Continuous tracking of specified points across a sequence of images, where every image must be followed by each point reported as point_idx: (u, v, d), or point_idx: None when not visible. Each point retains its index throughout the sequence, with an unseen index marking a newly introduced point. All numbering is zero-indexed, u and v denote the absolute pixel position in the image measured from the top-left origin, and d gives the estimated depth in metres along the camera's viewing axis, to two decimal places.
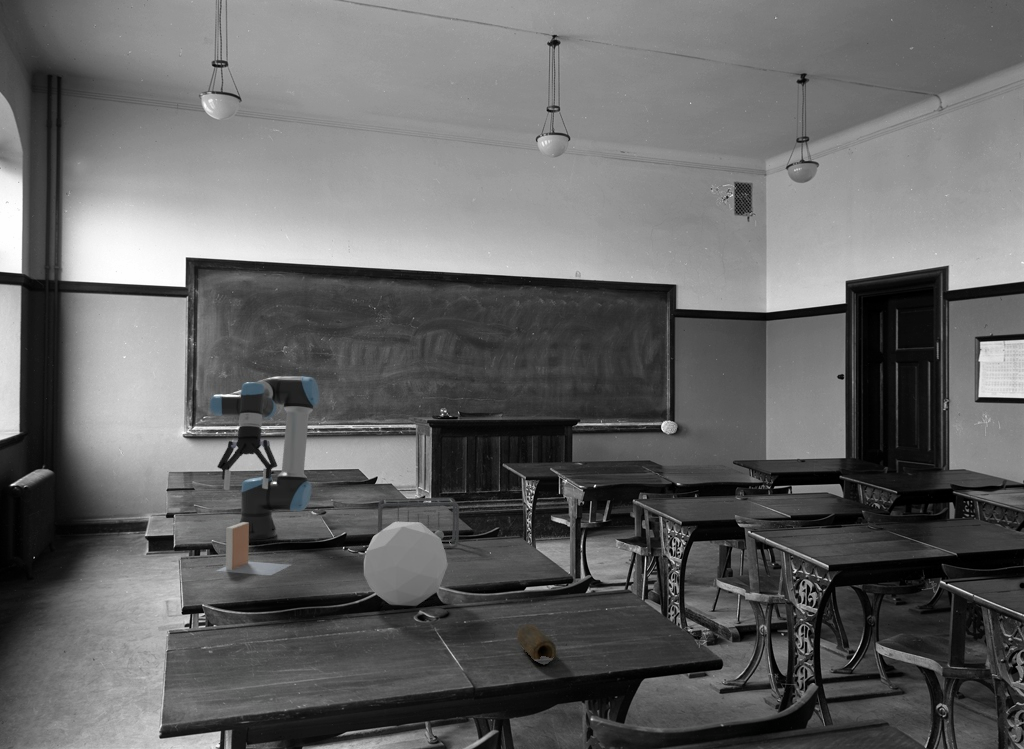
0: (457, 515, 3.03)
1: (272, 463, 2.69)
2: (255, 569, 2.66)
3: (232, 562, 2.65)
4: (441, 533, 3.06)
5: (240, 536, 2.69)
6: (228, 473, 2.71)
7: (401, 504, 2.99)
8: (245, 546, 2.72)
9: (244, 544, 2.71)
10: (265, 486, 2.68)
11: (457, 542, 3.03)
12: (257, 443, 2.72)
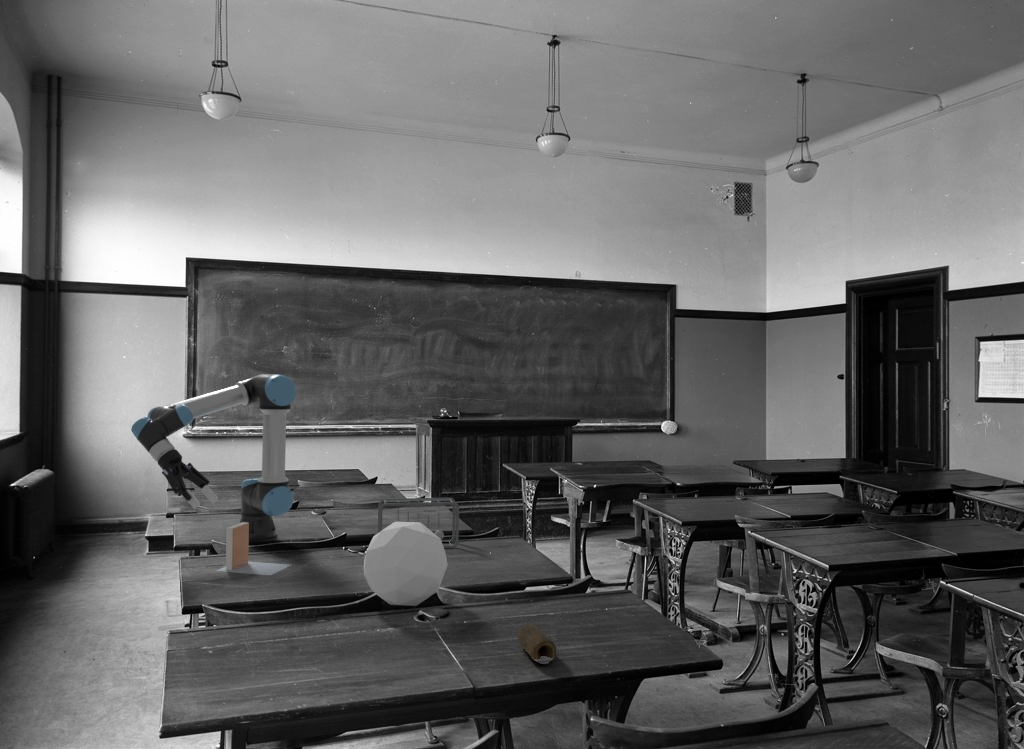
0: (457, 515, 3.03)
1: None
2: (255, 569, 2.66)
3: (232, 562, 2.65)
4: (441, 533, 3.06)
5: (240, 536, 2.69)
6: (204, 490, 2.77)
7: (401, 504, 2.99)
8: (245, 546, 2.72)
9: (244, 544, 2.71)
10: (194, 507, 2.67)
11: (457, 542, 3.03)
12: None
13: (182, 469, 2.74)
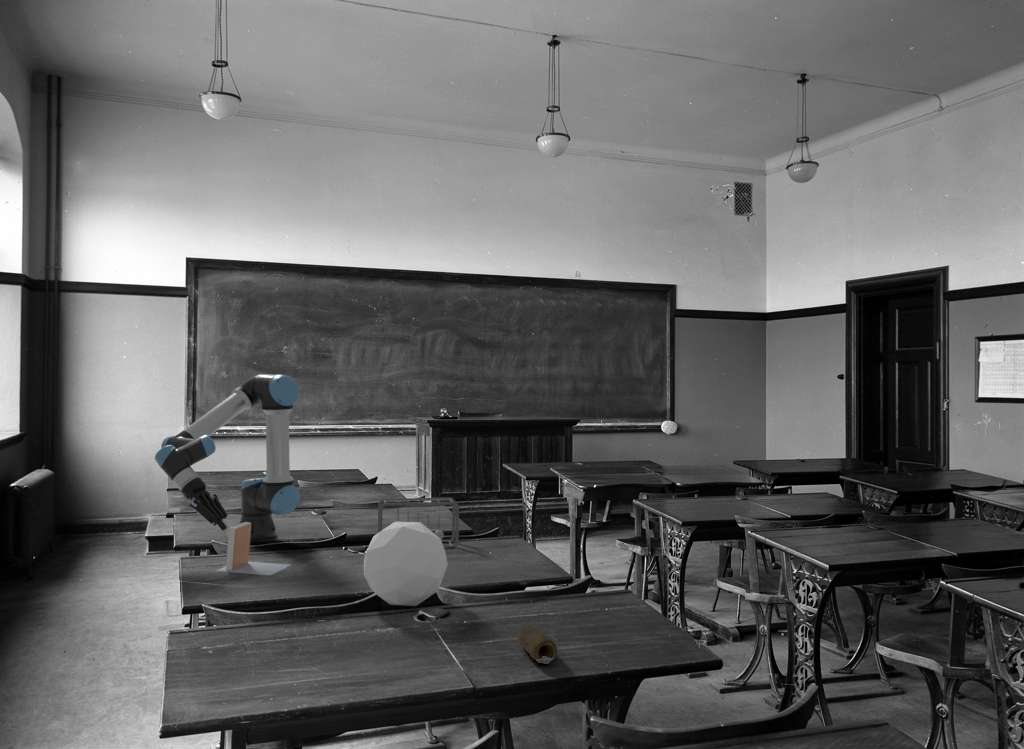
0: (457, 515, 3.04)
1: None
2: (255, 569, 2.66)
3: (232, 562, 2.65)
4: (441, 533, 3.06)
5: (242, 536, 2.68)
6: None
7: (401, 504, 2.99)
8: (246, 546, 2.72)
9: (245, 544, 2.71)
10: None
11: (457, 542, 3.04)
12: None
13: (206, 498, 2.72)
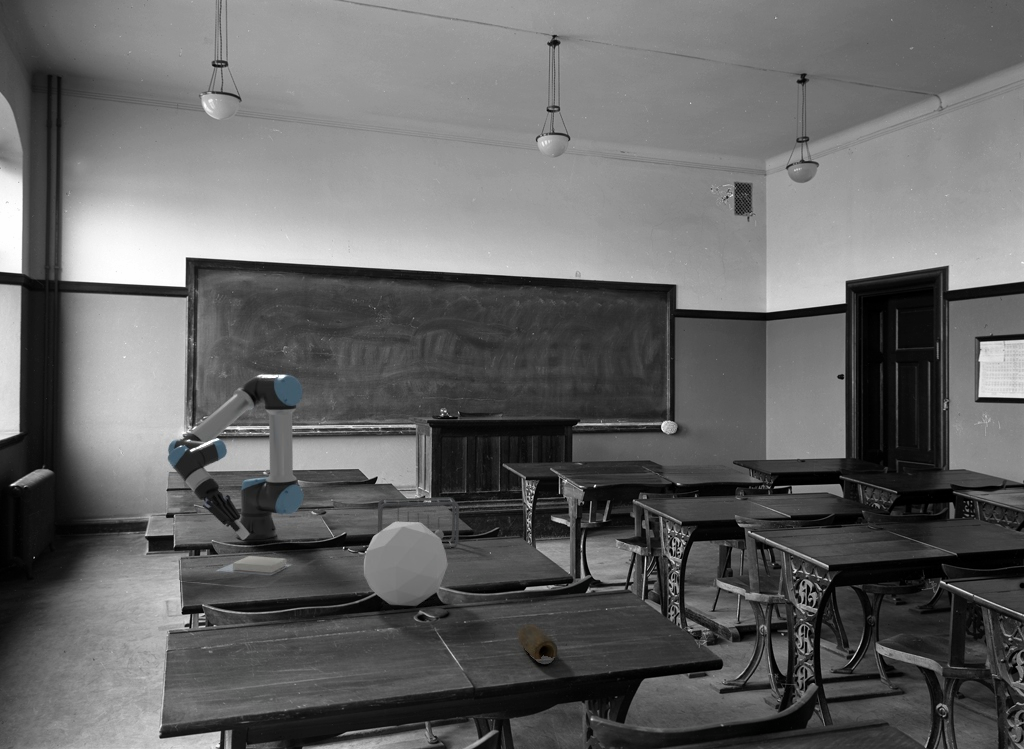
0: (457, 515, 3.04)
1: None
2: None
3: (240, 570, 2.64)
4: (441, 533, 3.06)
5: None
6: None
7: (401, 504, 2.99)
8: None
9: None
10: (242, 538, 2.68)
11: (457, 542, 3.04)
12: None
13: (219, 498, 2.71)
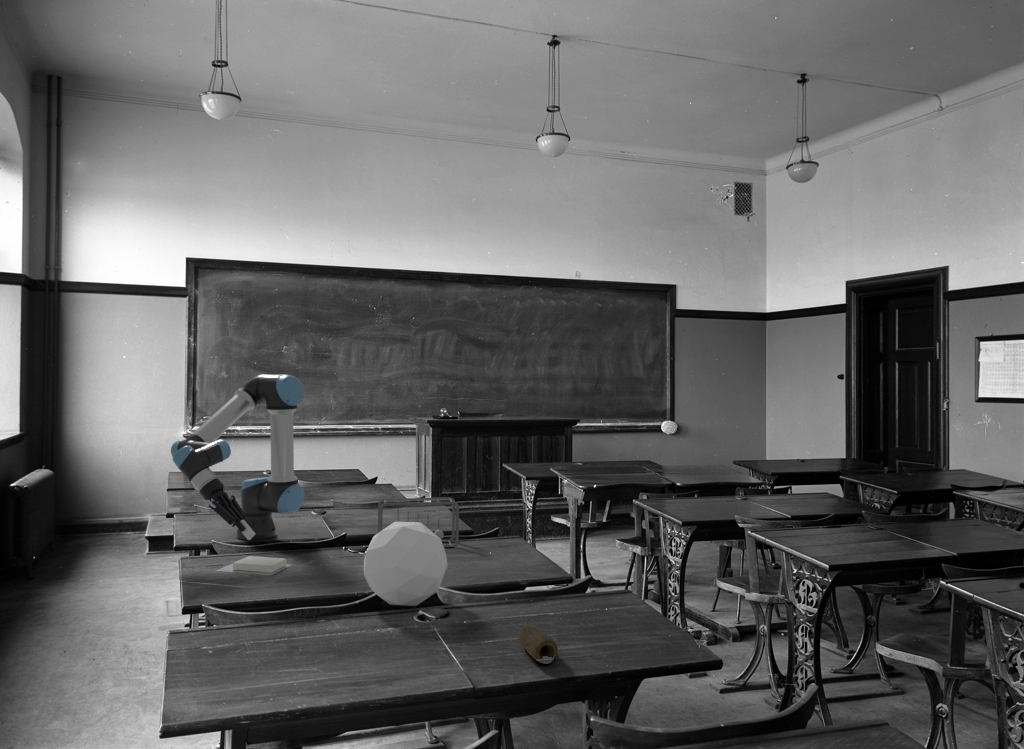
0: (457, 515, 3.04)
1: None
2: None
3: (240, 570, 2.64)
4: (441, 533, 3.07)
5: None
6: None
7: (401, 504, 2.99)
8: None
9: None
10: (248, 538, 2.68)
11: (457, 541, 3.04)
12: None
13: (224, 499, 2.71)
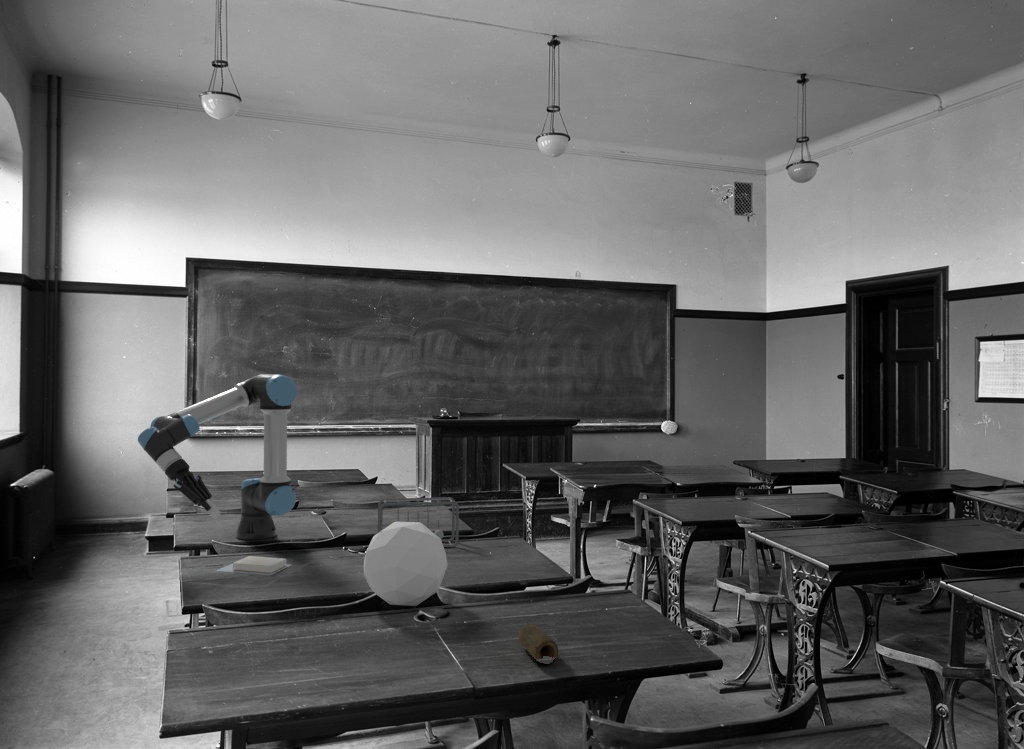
0: (457, 514, 3.04)
1: None
2: None
3: (240, 570, 2.64)
4: (441, 532, 3.07)
5: None
6: None
7: (401, 504, 2.99)
8: None
9: None
10: (213, 517, 2.70)
11: (457, 541, 3.04)
12: None
13: (190, 479, 2.73)
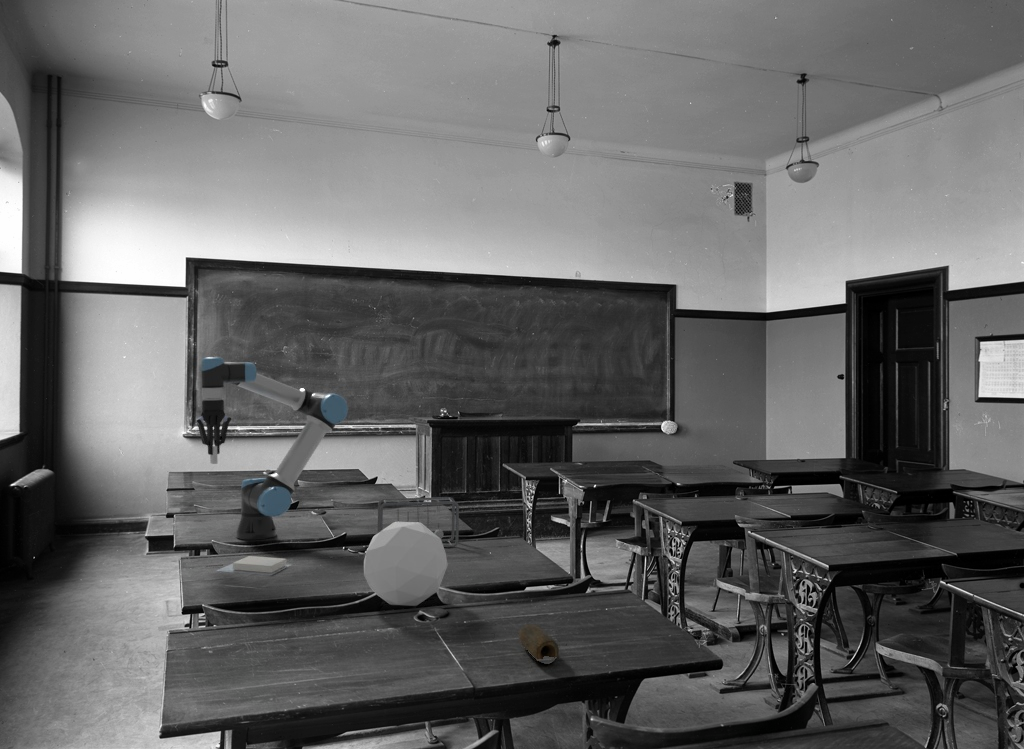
0: (457, 514, 3.05)
1: None
2: None
3: (240, 570, 2.64)
4: (441, 532, 3.07)
5: None
6: None
7: (401, 504, 2.99)
8: None
9: None
10: (211, 462, 2.93)
11: (457, 541, 3.05)
12: None
13: (215, 419, 2.92)
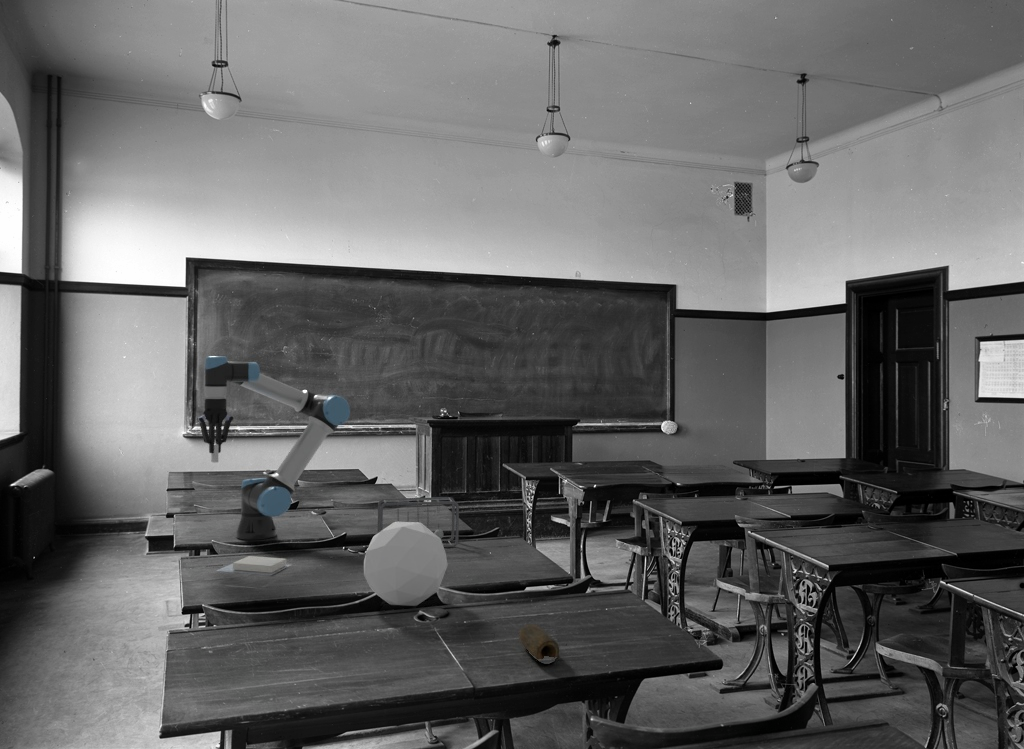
0: (457, 514, 3.05)
1: None
2: None
3: (240, 570, 2.64)
4: (441, 532, 3.07)
5: None
6: None
7: (401, 504, 3.00)
8: None
9: None
10: (211, 460, 2.94)
11: (457, 541, 3.05)
12: None
13: (217, 418, 2.93)
